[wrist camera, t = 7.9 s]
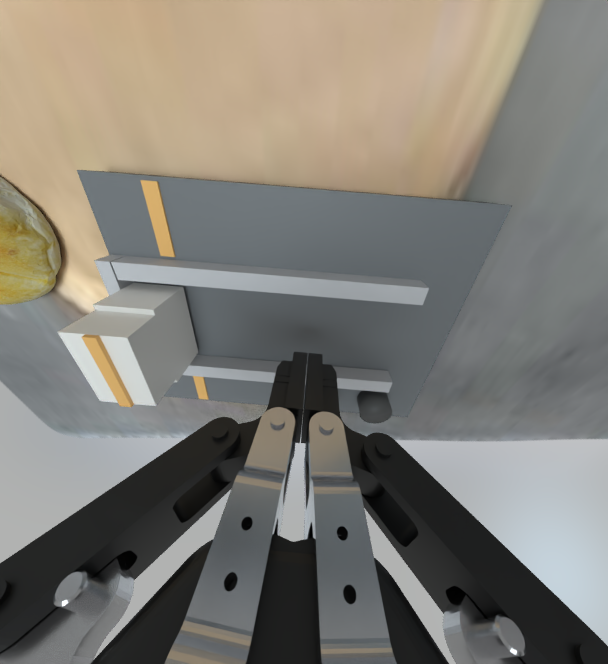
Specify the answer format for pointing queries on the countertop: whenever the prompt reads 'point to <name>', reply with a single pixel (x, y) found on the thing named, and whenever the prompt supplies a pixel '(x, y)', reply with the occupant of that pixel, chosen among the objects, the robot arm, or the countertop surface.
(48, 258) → the bread roll
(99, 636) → the robot arm
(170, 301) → the fader
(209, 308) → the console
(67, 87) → the countertop surface
